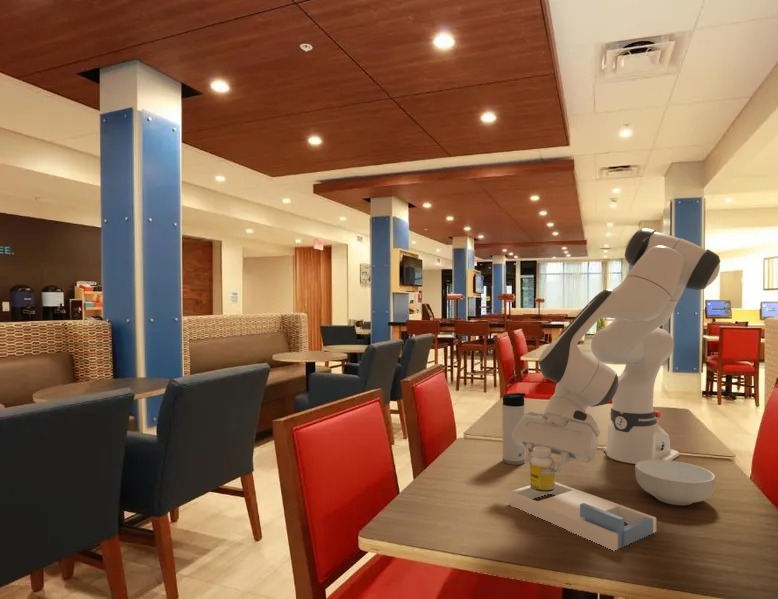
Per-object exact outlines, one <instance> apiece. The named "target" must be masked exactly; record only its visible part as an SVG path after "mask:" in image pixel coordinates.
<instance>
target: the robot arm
mask: <svg viewBox="0 0 778 599" xmlns="http://www.w3.org/2000/svg"><path fill="white" fill-rule="evenodd" d="M624 252H625V253H624V257H625V260H626V262H627V263H628V264H629V265H631V266H632V268H631V269H630V270H629V272H628V273H627V275H626V276H625V277H624V280H623V281H622V282H621V283H620V284H619V285H618V286H616V287H614V288H613V289H611V288H605V289H604V290H602V291H600V292H599V293H597V294H596V295H595V296H594V297H593V298H592V299H591V300H590V301H589V302H588V303H587V304H586V305H585V307H584V308H583V309H581V311H580V312H579V313H578V314H577V315H576V316H575V317H574V318H573V320H572V321H571V322H570V323H569V324H568V325H567V326H566V327H565V329H563V330H562V332H560V333H559V335H558V336H557V337H556V338H555V339H554V340H553V341H551V343H549V344H548V345H547V346H546V347H545V348H544V349H543V351H542V352H541V354H540V355H539V356H540V357H539V358H538V366H539V369H540V372H541V374H542V376H543V377H544V378H546V379H548V380H550V381H552V382H554V383H555V384H556V385H555V389H554V393H553V394H552V396H551V397H550V398H549V400H548V402H547V403H546V407H545V409H544V411H543V413H542V412H541V413H537V412H535V411H529V412H527V413H526V412H525V414H523V416H522V417H521V419H520V421H519V422H518V424H517V425H516V427H515V428H514V430H513V432H512V434H511V435H512V439H513V440H514V442H515V443H516V444H517V445H519V446H523V447H525V454H526V456H525V460H524V461H525V462H524V464H526V465H527V466H530V460H531V458H532V457H533V456H534V455H532V454H533V448H534V447H537V446H544V447H548V448H550V449H551V455H556V456H560V458H558V460H556V461H555V460H554V461H553V462H552V465H551V470H552V471H554V473H560V471H561V469H562V467H564V466H565V465H567V464H568V463H570V459H572V460H575V461H576V460H577V461H580V462H585V463H590V462H592V461H593V460H594V459H595V456H596V453H597V450H598V445H599V439H598V437H599V436H600V435H601V430H600V427H599V425H598V424H597V422H596V421H595V419H594V417H593V416H592V415H591V414H589V413H587V412H586V411H587V408H588V407H590V408H595V407H599V406H604V405H607V404H609V403H610V402H611V401H612V403H611V404H612V407H611V408H610V412H609V414H610V421H611V423H610V424H608V426H607V433H606V434H607V437H606V446H603V451H604V452H605V453H606V456H607V457H608V458H610V459H612V460H615V461H618V462H620V463H621V462H622V463H626V464H634V465H636V463H637V462H639V461H642V460H652V459H657V460H670V461H674V459H676V458H677V457H680V452H679V451H677V450H676V449H673V448H671V439H670V435H669V434H668V433H667V431H665V430H664V429H663V428H662V427H661V426H659V424H657V423H658V421H657V419H660V418H661V417H662V412H661V410H654V389H655V388H654V387H655V384H656V379H657V376H658V374H659V371H660V369H661V368H662V366H663V364H664V362H665V361H667V359H668V358H670V357H671V356H672V354H673V351H674V348H675V346H674V345H675V344H674V340H673V337H672V335H671V334H670V333H669V331H667V330H666V329H664V328H660V327H662V326H663V325H666V323H667V322H668V321H669V319H670V318H671V316H672V314H673V313H674V311H675V308H676V307H677V305H678V303H679V302H680V299H681V298H682V295H683V293H684V290H685V288H686V289H688V290H693V291H701V290H704V289H706V288H707V287H708V286H710V285H711V284H712V283H714V282H715V280H716V279H717V277H718V275H719V273H720V266H721V258H720V256H719V255H718V254H717V253H715V252H714V251H712V250H710V249H705V248H704V247H702V246H700V245H697V244H696V243H694V242H691V241H689V240H686V239H685V238H679V237H676V236H673V235H670V234H667V233H663V232H658V231H657V230H655V229H651V228H640V229H639V230H637V231H635V233H634V234H633V235H631V237H630V238H629V239H628V241H627V242H626V246H625V251H624ZM603 318H610V319H614V320H613V321H612V322H610V323H609V324H607V325H606V326H604V327H603V328H601V329H599V330H598V331H596V332H594V334H593V336H592V339H591V341H590V348H591V349H590V350H591V352H592V355H593V356H594V357H593V356H591V355H590V354H588V353H587V352H585V351H583V350H582V349H580V348H579V346H578V344H579V342H580V341H581V340H582V339H583V337H584V336H585V335H586V334H587V333H588V332H589V331H590V330H591V328H592V327H593V326H594V325H595V324H596V323H598V321H599V320H601V319H603ZM606 364H607V365H606ZM608 364H611V365H625V367H624V369H623V372H622V373H621V374H620V375H619V376H618V374H617V371H615V370H614V369H612V368H611V367H610V366H608Z"/></svg>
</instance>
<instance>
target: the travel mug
mask: <svg viewBox="0 0 778 599" xmlns="http://www.w3.org/2000/svg"><path fill="white" fill-rule="evenodd" d="M525 397H527V396H526V393H525V392H522V393H521V392H520V393H519V392H517V393H514V392H512V393H508V394H507V393H506V394H504V395H503V396H502V462H503V463H505V464H507V465H511V464H513V465H512V466H516V465H517V466H520V465H523V464H525V461H524V460H525V457H526V456H525V454H526V448H525V447H523V446H519V445H517V444H516V443H515V442H514V440H513V439H512V435H511V434H512V432H513V430H514V428H515V427H516V425H517V424H518V422H519V421H520V419H521V417H522V416H523V414H526V412H525V410H526V409H525V407H526V406H525Z"/></svg>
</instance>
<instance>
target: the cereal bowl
mask: <svg viewBox="0 0 778 599" xmlns="http://www.w3.org/2000/svg"><path fill="white" fill-rule="evenodd" d="M634 466H635V467H634V474H635V479H636V482H637V483H638V485H639V486H640V488H642V490H644V491H645V492H647V493H648V494H649V495H651V496H653V497H654V498H655V499H656V500H658V501H660V502H663V503H665V504H669V505H675V506H688V505H689V506H690V505H692V504H693V503H699V502H703V501H705V500H707V499H709V498H711V496H712V494H713V493H714V491H715V487H716V476H715V473H713V472H712V471H711V470H709V469H706V468H704V467H702V466H698V465H696V464H691V463H688V462H682V461H676V460H671V461H670V460H657V459H652V460H642V461H639V462H637V463H636V464H634Z"/></svg>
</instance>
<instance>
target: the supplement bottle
mask: <svg viewBox="0 0 778 599" xmlns="http://www.w3.org/2000/svg"><path fill="white" fill-rule="evenodd" d="M532 454H533V455H532V456H533V457H532V458H531V460H530V465H529V466H530V469H529V470H530V471H529V472H530V475H529V476H530V479H529V480H530V485H531V490H532V491H533V492H535V493H538V494H549V495H550V494H551V493H553V492H554V491H555V482H556V481H555V479H556V478H555V477H556V476H555V472H554V471H552V470H551V465H552V462H553V461H555V460H554V459H553V457H551V456H552V454H551V449H550V448H548V447H544V446H537V447H534V448H533V453H532Z"/></svg>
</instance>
